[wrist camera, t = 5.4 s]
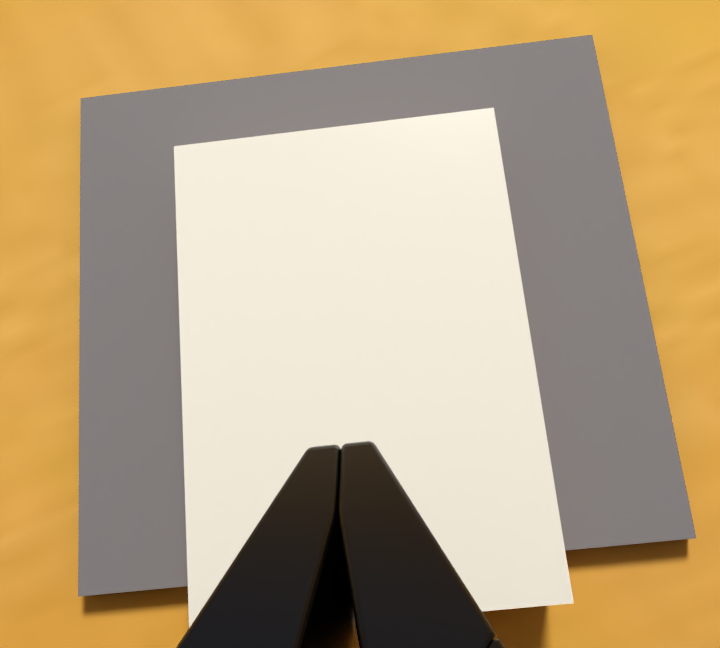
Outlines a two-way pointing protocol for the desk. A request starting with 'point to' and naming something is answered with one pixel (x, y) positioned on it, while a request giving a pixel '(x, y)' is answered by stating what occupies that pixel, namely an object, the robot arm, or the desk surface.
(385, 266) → the tile
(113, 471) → the gray pad
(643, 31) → the desk surface
